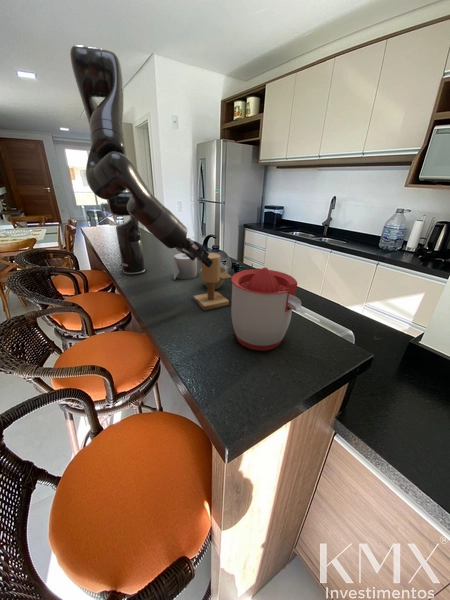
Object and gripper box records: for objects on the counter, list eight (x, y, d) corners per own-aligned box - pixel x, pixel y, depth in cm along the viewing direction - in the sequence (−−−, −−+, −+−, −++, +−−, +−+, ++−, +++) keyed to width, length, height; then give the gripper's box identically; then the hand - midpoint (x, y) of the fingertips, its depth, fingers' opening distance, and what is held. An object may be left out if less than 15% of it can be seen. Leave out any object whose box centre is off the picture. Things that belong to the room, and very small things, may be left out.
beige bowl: (196, 289, 95) (195, 271, 92) (207, 280, 103) (207, 264, 100) (220, 293, 92) (220, 275, 89) (229, 284, 100) (230, 267, 97)
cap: (206, 283, 78) (206, 259, 74) (198, 277, 83) (198, 254, 79) (233, 278, 82) (234, 255, 79) (224, 273, 87) (225, 250, 84)
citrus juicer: (281, 368, 56) (294, 287, 47) (217, 343, 64) (218, 270, 55) (302, 335, 68) (315, 266, 59) (246, 317, 76) (250, 254, 67)
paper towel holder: (193, 299, 87) (192, 255, 80) (216, 294, 91) (216, 252, 84) (204, 310, 80) (203, 262, 73) (228, 304, 84) (230, 259, 77)
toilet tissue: (170, 281, 101) (169, 261, 98) (178, 270, 113) (177, 252, 110) (192, 282, 101) (191, 262, 97) (198, 271, 113) (197, 253, 109)
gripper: (188, 219, 61) (223, 256, 72) (161, 212, 70) (196, 247, 82) (170, 243, 60) (209, 277, 72) (145, 233, 70) (183, 265, 81)
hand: (202, 261), depth 77 cm, fingers open, 8 cm apart
